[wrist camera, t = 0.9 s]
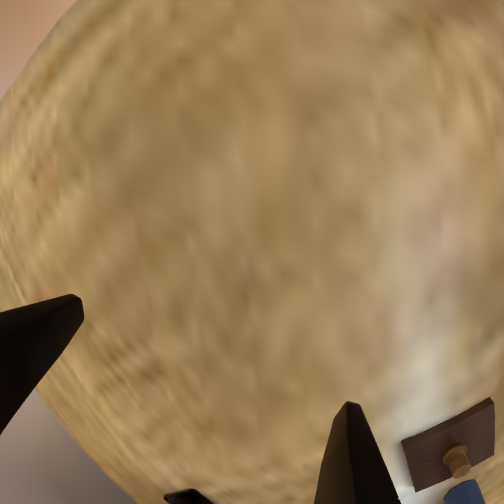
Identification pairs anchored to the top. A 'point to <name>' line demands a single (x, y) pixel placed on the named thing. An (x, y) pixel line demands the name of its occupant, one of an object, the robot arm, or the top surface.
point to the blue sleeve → (465, 494)
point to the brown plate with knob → (451, 446)
